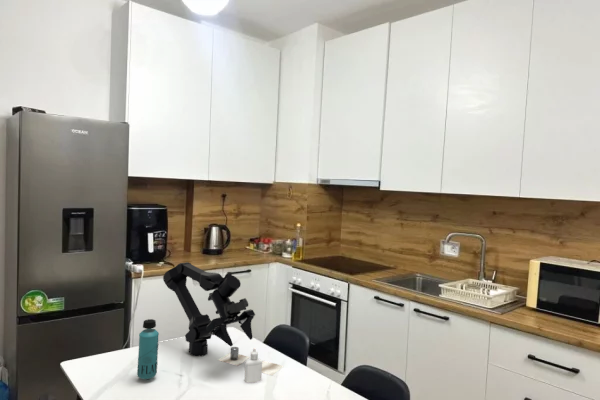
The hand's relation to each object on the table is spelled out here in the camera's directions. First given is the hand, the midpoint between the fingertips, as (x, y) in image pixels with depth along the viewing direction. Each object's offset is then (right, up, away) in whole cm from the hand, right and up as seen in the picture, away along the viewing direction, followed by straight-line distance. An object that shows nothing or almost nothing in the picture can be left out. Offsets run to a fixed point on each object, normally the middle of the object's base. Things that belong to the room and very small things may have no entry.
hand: (241, 342), depth 141 cm
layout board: (+1, -12, +9) cm, 15 cm away
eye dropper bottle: (+4, -13, -4) cm, 14 cm away
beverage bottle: (-32, -11, -5) cm, 34 cm away
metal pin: (-5, -11, +13) cm, 17 cm away
